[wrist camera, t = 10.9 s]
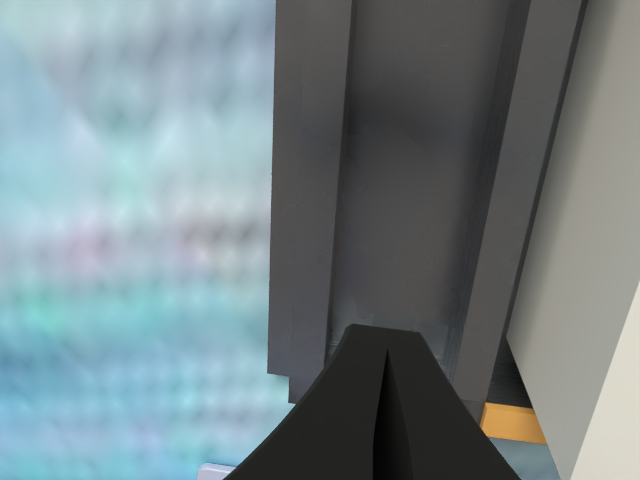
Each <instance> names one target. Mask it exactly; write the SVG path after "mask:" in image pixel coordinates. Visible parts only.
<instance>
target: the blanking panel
mask: <svg viewBox="0 0 640 480" xmlns="http://www.w3.org/2000/svg"><path fill="white" fill-rule="evenodd" d="M506 338H507V341H508V344H509V346H510V349H511V351H512V354H513V357H514V359H515V362H516V364H517V367H518V370H519V372H520V375H521V377H522V380H523V382H524V385H525V388H526V390H527V393H528V395H529V398H530V401H531V403H532V406H533V408H534V411H535V414H536V416H537V419H538V421H539V424H540V427H541V429H542V432H543V434H544V437H545V440H546V442H547V445H548V447H549V450H550V452H551V455H552V458H553V460H554V463H555V465H556V468H557V471H558V473H559V476H560V478H561V480H640V0H588V4H587V8H586V12H585V16H584V20H583V24H582V28H581V33H580V37H579V41H578V45H577V49H576V53H575V57H574V61H573V65H572V69H571V74H570V78H569V82H568V86H567V90H566V94H565V98H564V102H563V106H562V110H561V115H560V119H559V123H558V127H557V131H556V135H555V139H554V143H553V147H552V151H551V156H550V160H549V164H548V168H547V172H546V176H545V180H544V184H543V188H542V192H541V197H540V201H539V205H538V209H537V213H536V217H535V221H534V225H533V229H532V233H531V237H530V242H529V246H528V250H527V254H526V258H525V262H524V266H523V270H522V274H521V278H520V283H519V287H518V291H517V295H516V299H515V303H514V307H513V311H512V315H511V319H510V324H509V328H508V332H507V336H506Z"/></svg>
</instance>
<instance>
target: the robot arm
mask: <svg viewBox="0 0 640 480" xmlns="http://www.w3.org/2000/svg"><path fill="white" fill-rule="evenodd" d="M197 480H521V479H520V478H519V477H518V475H517V474H516V473H515V472H514V470H513V469H512V468H511V467H510V465H509V464H508V463H507V462H506V460H505V459H504V458H503V457H502V455H501V454H500V453H499V451H498V450H497V449H496V447H495V446H494V445H493V444H492V442H491V441H490V440H489V438H488V437H487V436H486V434H485V433H484V432H483V430H482V429H481V427H480V426H479V425H478V423H477V422H476V421H475V419H474V418H473V416H472V415H471V413H470V412H469V410H468V409H467V407H466V406H465V404H464V403H463V401H462V400H461V398H460V397H459V396H458V394H457V393H456V391H455V389H454V388H453V386H452V385H451V383H450V382H449V380H448V378H447V377H446V375H445V373H444V372H443V370H442V369H441V367H440V365H439V363H438V362H437V360H436V358H435V357H434V355H433V353H432V351H431V350H430V348H429V346H428V344H427V342H426V340H425V339H424V337H423V336H422V335H421V333H420V332H413V331H406V330H398V329H391V328H383V327H376V326H368V325H361V324H354V323H352V324H350V325H349V326H347V327H346V328H345V330H344V333H343V336H342V338H341V340H340V342H339V344H338V346H337V348H336V349H335V351H334V353H333V354H332V356H331V358H330V359H329V361H328V362H327V364H326V365H325V367H324V368H323V370H322V371H321V372H320V374H319V375H318V377H317V378H316V380H315V381H314V382H313V384H312V385H311V387H310V388H309V389H308V390H307V392H306V393H305V394H304V395H303V397H302V398H301V399H300V400H299V401H298V403H297V404H296V405H295V406H294V407H293V409H292V410H291V411H290V412H289V413H288V415H287V416H286V417H285V418H284V419H283V421H282V422H281V423H280V424H279V425H278V426H277V427H276V428H275V429H274V430H273V431H272V433H271V434H270V435H269V436H268V437H267V438H266V439H265V440H264V441H263V442H262V443H261V444H260V445H259V446H258V447H257V448H256V449H255V450H254V451H253V452H252V453H251V454H250V455H249V456H248V457H247V458H246V459H245V460H244V461H243V462H242V463H241V464H239V465H238V466H237V467H232V466H225V465H219V464H212V463H204V464H202V465H201V466H200V467H199V470H198V473H197Z"/></svg>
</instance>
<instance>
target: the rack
mask: <svg viewBox="0 0 640 480" xmlns="http://www.w3.org/2000/svg"><path fill="white" fill-rule="evenodd" d="M587 4H588V0H276V25H275V67H274V110H273V153H272V195H271V238H270V281H269V323H268V366H267V373H268V374H276V375H283V376H290V377H289V399H288V403H293V404H297V403H298V401H299V400H300V399H301V398H302V397H303V395H304V394H305V393H306V392H307V390H308V389H309V388H310V387H311V385H312V384H313V382H314V381H315V380H316V378H317V377H318V375H319V374H320V372H321V371H322V370H323V368H324V367H325V365H326V364H327V362H328V361H329V359H330V358H331V356H332V354H333V353H334V351H335V349H336V348H337V346H338V344H339V342H340V340H341V338H342V336H343V333H344V330H345V328H346V327H347V326H349V325H350V324H352V323H354V324H361V325H368V326H376V327H383V328H391V329H398V330H406V331H413V332H420V333H421V335H422V336H423V337H424V339H425V340H426V342H427V344H428V346H429V348H430V350H431V351H432V353H433V355H434V357H435V358H436V360H437V362H438V363H439V365H440V367H441V369H442V370H443V372H444V373H445V375H446V377H447V378H448V380H449V382H450V383H451V385H452V386H453V388H454V389H455V391H456V393H457V394H458V396H459V397H460V398H461V400H462V401H463V403H464V404H465V406H466V407H467V409H468V410H469V412H470V413H471V415H472V416H473V418H474V419H475V421H476V422H477V423H478V425H479V426H480V427H481V429H482V430H483V432H484V433H485V434H486V436H489V437H496V438H503V439H510V440H517V441H524V442H532V443H539V444H546V445H547V442H546V440H545V437H544V434H543V432H542V429H541V427H540V424H539V421H538V419H537V416H536V414H535V411H534V408H533V406H532V403H531V401H530V398H529V395H528V393H527V390H526V388H525V385H524V382H523V380H522V377H521V375H520V372H519V370H518V367H517V364H516V362H515V359H514V357H513V354H512V351H511V349H510V346H509V344H508V341H507V338H506V336H507V332H508V328H509V324H510V319H511V315H512V311H513V307H514V303H515V299H516V295H517V291H518V287H519V283H520V278H521V274H522V270H523V266H524V262H525V258H526V254H527V250H528V246H529V242H530V237H531V233H532V229H533V225H534V221H535V217H536V213H537V209H538V205H539V201H540V197H541V192H542V188H543V184H544V180H545V176H546V172H547V168H548V164H549V160H550V156H551V151H552V147H553V143H554V139H555V135H556V131H557V127H558V123H559V119H560V115H561V110H562V106H563V102H564V98H565V94H566V90H567V86H568V82H569V78H570V74H571V69H572V65H573V61H574V57H575V53H576V49H577V45H578V41H579V37H580V33H581V28H582V24H583V20H584V16H585V12H586V8H587Z"/></svg>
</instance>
